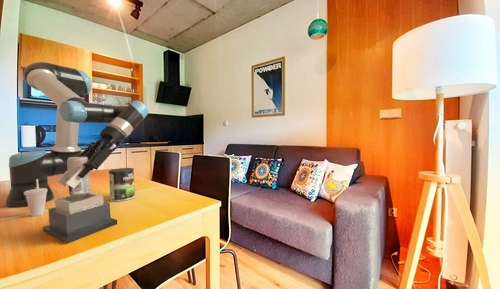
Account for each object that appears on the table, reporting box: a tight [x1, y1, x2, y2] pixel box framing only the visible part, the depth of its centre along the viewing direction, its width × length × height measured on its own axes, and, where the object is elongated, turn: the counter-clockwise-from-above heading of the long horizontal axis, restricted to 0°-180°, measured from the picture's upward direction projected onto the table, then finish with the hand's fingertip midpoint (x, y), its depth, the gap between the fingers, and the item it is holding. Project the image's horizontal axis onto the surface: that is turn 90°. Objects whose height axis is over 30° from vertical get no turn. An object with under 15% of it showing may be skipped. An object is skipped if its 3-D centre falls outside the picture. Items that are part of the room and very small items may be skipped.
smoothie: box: [24, 179, 48, 217], centre depth 79 cm, size 6×6×14 cm
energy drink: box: [67, 157, 91, 196], centre depth 67 cm, size 5×5×12 cm
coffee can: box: [108, 167, 136, 203], centre depth 99 cm, size 10×10×14 cm
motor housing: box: [42, 191, 118, 245], centre depth 68 cm, size 16×14×10 cm
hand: (65, 184), depth 64 cm, fingers closed on energy drink, 5 cm apart
